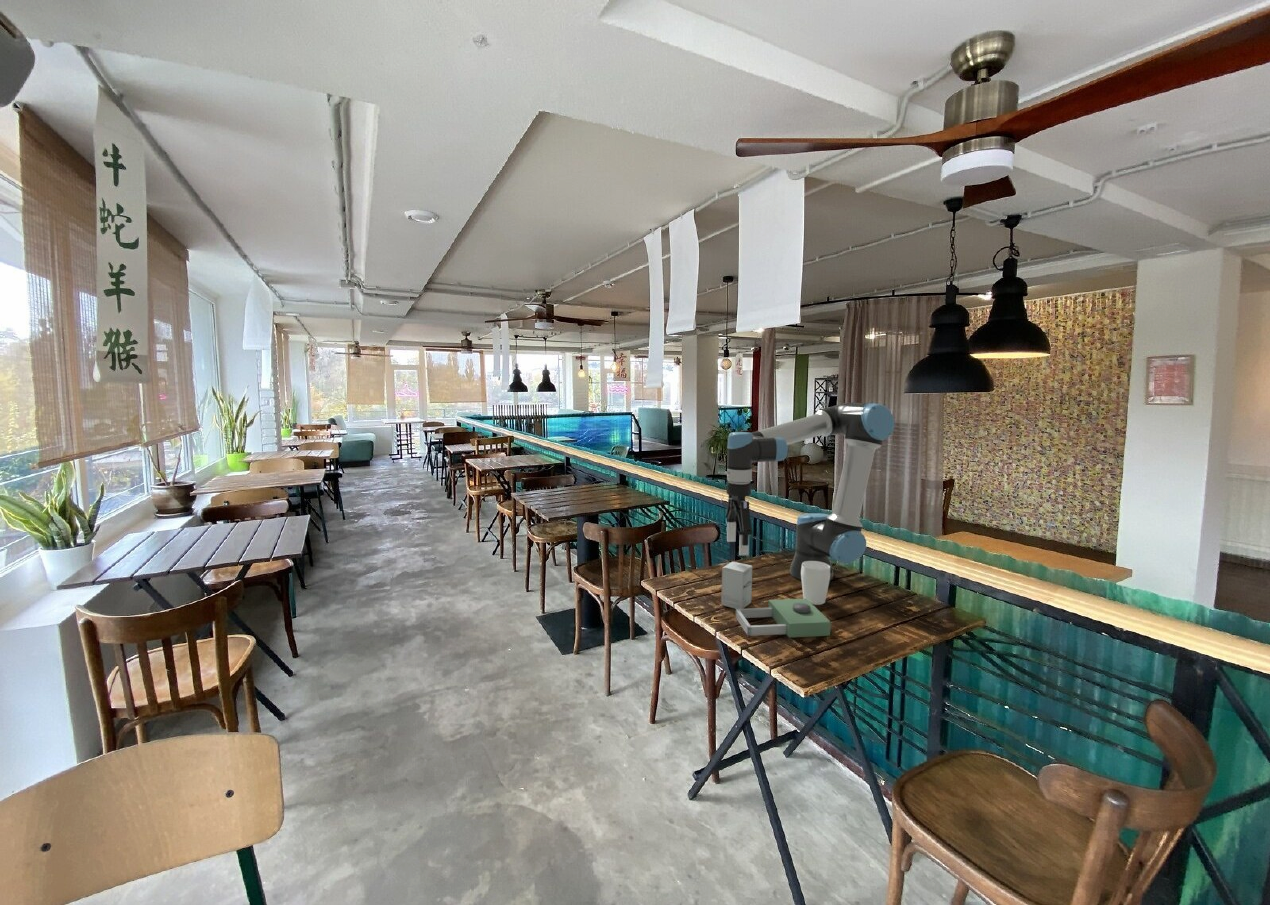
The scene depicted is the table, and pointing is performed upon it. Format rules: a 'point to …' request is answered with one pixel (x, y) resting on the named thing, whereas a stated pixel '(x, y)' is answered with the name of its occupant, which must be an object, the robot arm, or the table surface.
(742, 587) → the supplement box
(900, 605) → the table surface
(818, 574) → the cup
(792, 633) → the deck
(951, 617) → the table surface
